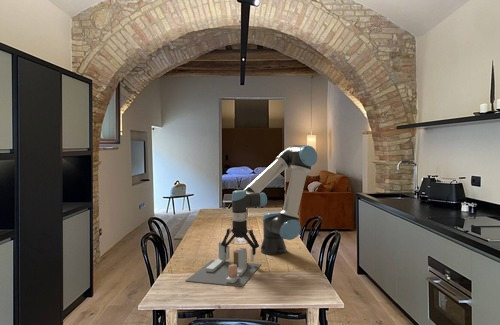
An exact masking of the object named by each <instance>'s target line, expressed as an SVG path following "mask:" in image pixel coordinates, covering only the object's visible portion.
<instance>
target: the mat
mask: <svg viewBox="0 0 500 325" xmlns="http://www.w3.org/2000/svg"><path fill="white" fill-rule="evenodd" d="M215 260H216V259H215ZM215 260H212V259H211V260H210V261H208V263H206V264H205V265H204V266H202V267H201V268H200V269H198V270H197V271H196V272H195V273H193V274H192V275H191V276H189V277H188V278H187V279H185V282H187V283H198V284H208V285H219V286H230V287H239V288H243V287H244V286H245V285H246V283H248V281H250V279H251V277H252V276H253V275H254V274H255V273H256V272H257V270H258V269H259V268H260V267H261V265H262V263H252V262H247V269H246V270H245V272H244V273H243V274H242V275H241V276H239V279H238V280H237V281H236V282H235V283H227V282H226V278H227V277H228V276H229V265H230V264H234V261H227V260H226V261H225V262H224V263H223V264H222V265H221V266H220V267H219V268H217V269H216V270H215V271H214V272H207V271H206V268H207V267H208V266H209V265H210V264H212V263H213V262H214V261H215ZM237 267H238V266H237Z"/></svg>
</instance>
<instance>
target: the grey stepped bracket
mask: <svg viewBox="0 0 500 325" xmlns="http://www.w3.org/2000/svg"><path fill="white" fill-rule="evenodd" d="M222 242H223V240H220V241H219V242H218V258H217V259H215V261H214V262H213V263H212V264H210V265H209V266H208V267H207V268H206V271H207V272H214V271H215V270H216V269H217V268H219V267H220V266H221V265H222V264H223V263H224V262H225V261H227V254H226V253H225V247H224V246H222V245H221V244H222ZM226 243H227V242H226ZM226 243H225V244H226Z"/></svg>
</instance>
